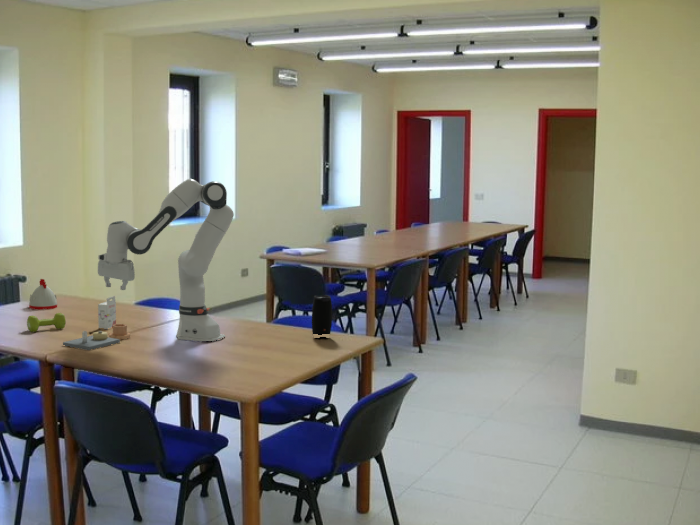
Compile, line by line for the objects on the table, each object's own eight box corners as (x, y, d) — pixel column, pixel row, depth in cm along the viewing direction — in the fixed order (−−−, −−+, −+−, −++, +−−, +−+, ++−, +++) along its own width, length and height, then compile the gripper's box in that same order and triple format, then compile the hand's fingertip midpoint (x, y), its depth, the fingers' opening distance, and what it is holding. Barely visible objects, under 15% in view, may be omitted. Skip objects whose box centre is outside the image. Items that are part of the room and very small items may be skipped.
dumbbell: (31, 333, 370) (31, 317, 369) (25, 330, 376) (25, 314, 375) (67, 329, 381) (67, 314, 380) (60, 326, 387) (60, 311, 386)
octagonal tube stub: (134, 336, 369) (134, 324, 369) (120, 340, 361) (120, 328, 361) (119, 334, 373) (119, 322, 373) (104, 337, 365) (104, 325, 365)
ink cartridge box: (106, 325, 393) (106, 294, 391) (116, 326, 392) (116, 295, 390) (97, 328, 384) (97, 297, 382) (107, 329, 383) (107, 298, 382)
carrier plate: (119, 342, 357) (119, 328, 356) (89, 350, 341) (89, 335, 340) (94, 338, 364) (94, 323, 363) (62, 345, 348) (62, 330, 347)
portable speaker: (330, 340, 376) (331, 298, 373) (310, 339, 376) (311, 297, 374) (332, 336, 384) (333, 295, 382) (312, 335, 385) (313, 294, 382)
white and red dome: (51, 304, 443) (51, 276, 441) (61, 308, 432) (60, 280, 431) (25, 306, 434) (25, 278, 432) (34, 310, 424) (34, 281, 422)
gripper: (138, 259, 360) (137, 291, 362) (106, 254, 371) (105, 284, 373) (127, 260, 355) (126, 292, 357) (95, 255, 366) (94, 286, 367)
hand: (115, 288), depth 365 cm, fingers open, 8 cm apart
